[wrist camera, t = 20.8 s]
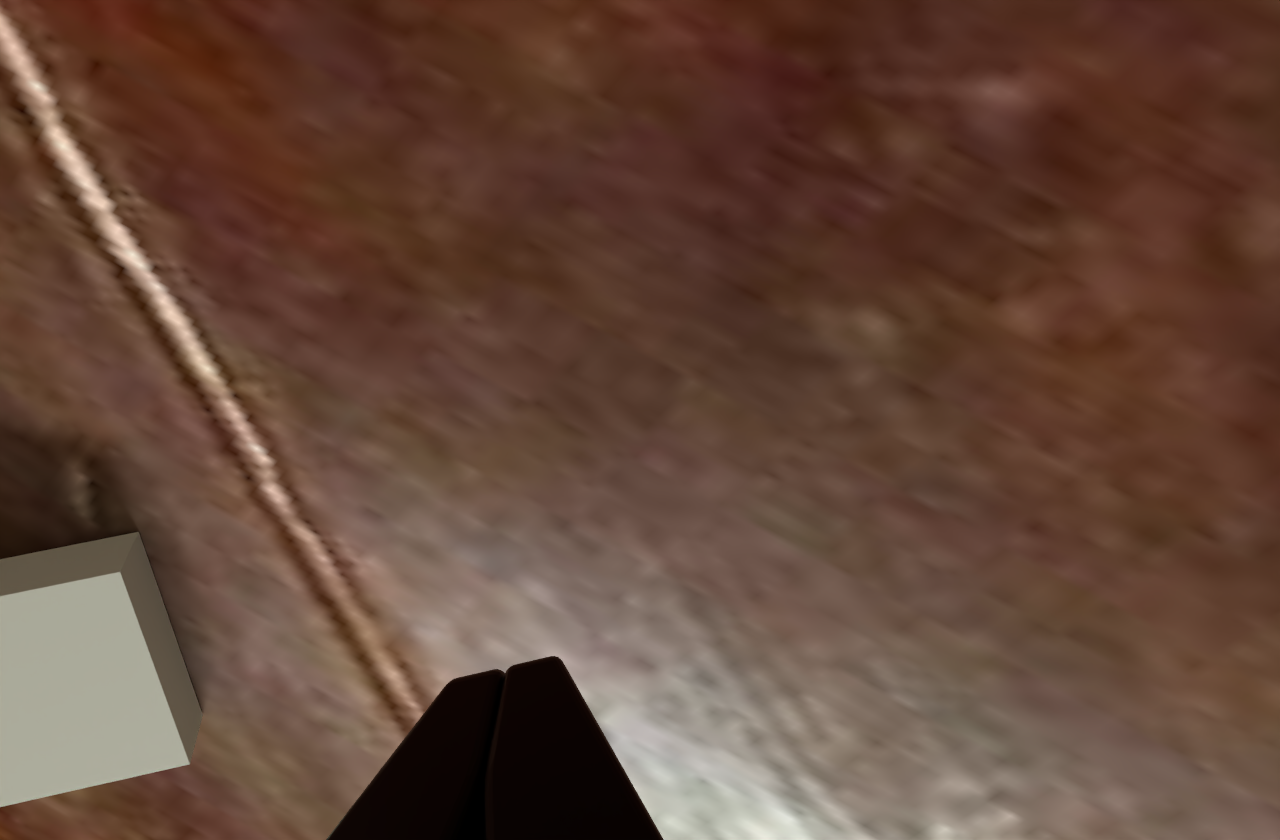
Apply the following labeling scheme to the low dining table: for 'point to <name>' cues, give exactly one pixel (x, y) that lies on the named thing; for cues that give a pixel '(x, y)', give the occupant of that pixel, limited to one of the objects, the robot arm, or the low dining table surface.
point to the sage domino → (88, 671)
